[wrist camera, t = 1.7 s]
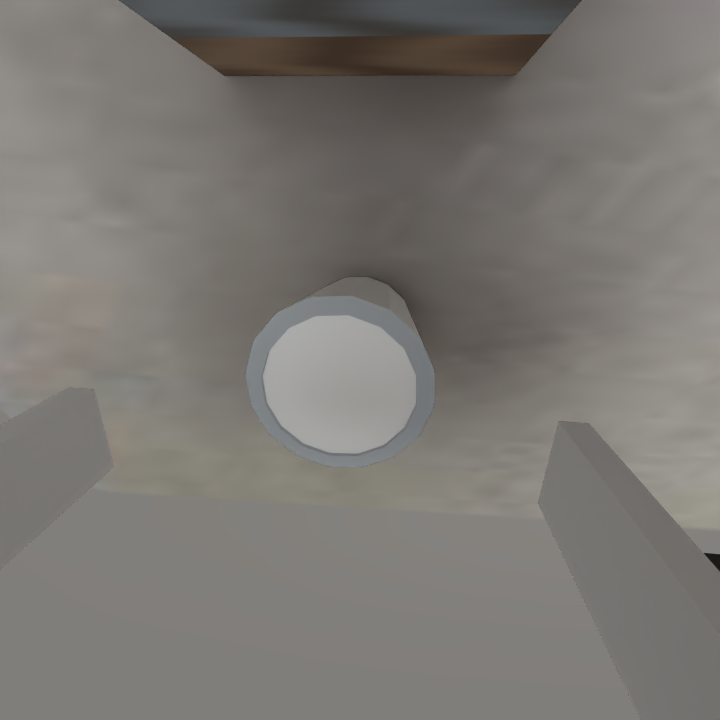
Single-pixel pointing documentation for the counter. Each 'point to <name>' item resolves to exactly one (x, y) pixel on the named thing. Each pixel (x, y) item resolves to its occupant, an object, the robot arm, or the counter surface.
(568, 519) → the robot arm
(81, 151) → the counter surface
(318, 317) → the grey round tub
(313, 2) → the brown grey striped block
